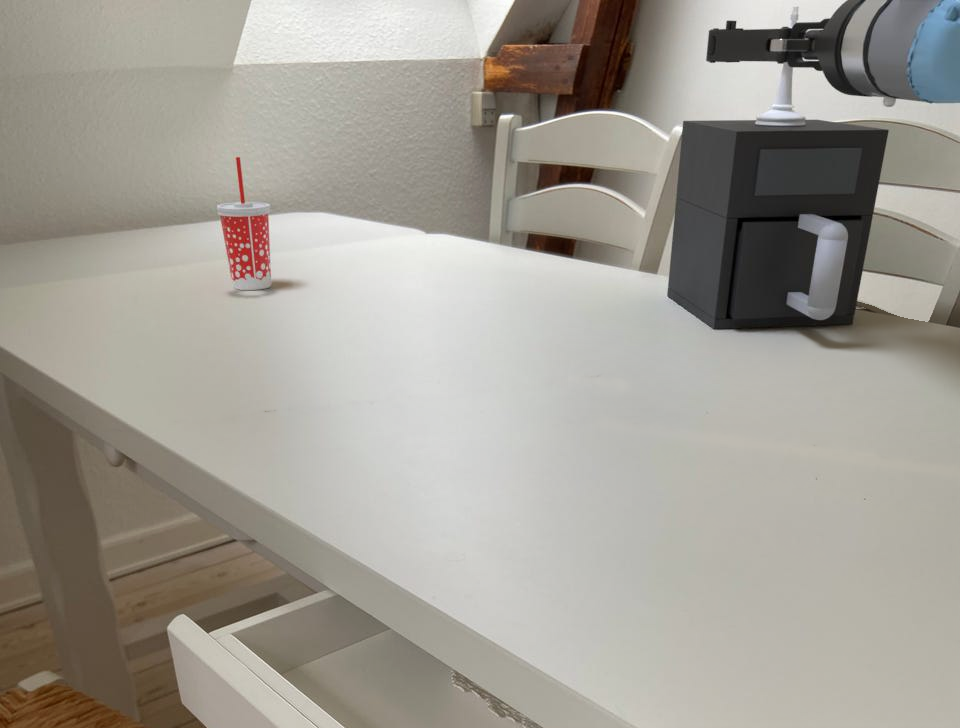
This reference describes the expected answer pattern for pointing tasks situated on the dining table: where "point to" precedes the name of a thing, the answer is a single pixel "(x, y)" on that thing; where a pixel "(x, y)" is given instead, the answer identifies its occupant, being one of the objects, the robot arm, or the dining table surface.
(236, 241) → the beverage cup
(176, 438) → the dining table surface
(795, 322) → the fryer
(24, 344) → the dining table surface
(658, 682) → the dining table surface
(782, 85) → the chess piece
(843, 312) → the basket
